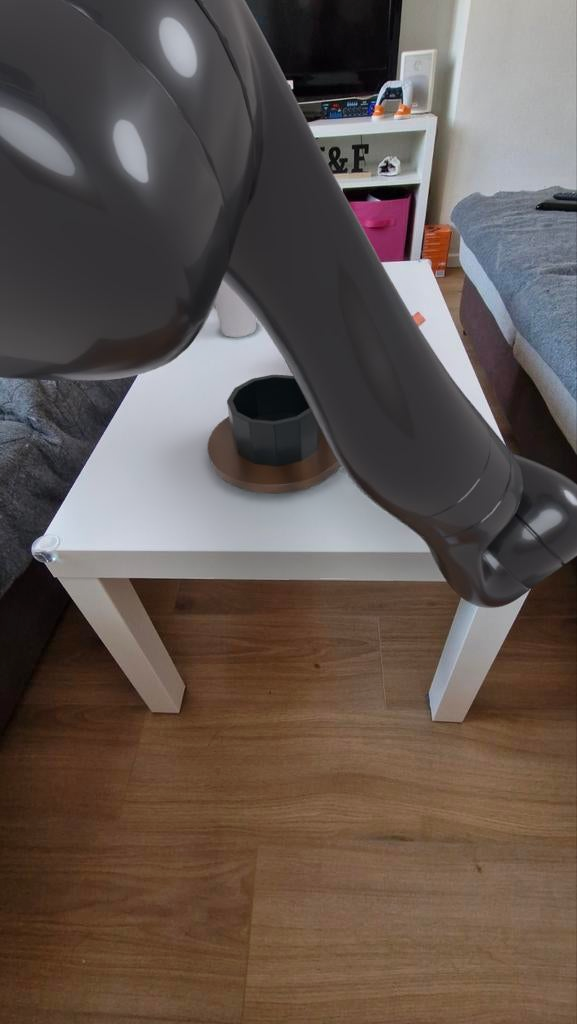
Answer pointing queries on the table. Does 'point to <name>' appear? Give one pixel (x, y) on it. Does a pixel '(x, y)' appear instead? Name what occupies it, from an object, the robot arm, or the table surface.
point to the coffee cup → (233, 313)
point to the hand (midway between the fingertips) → (331, 341)
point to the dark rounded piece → (270, 439)
